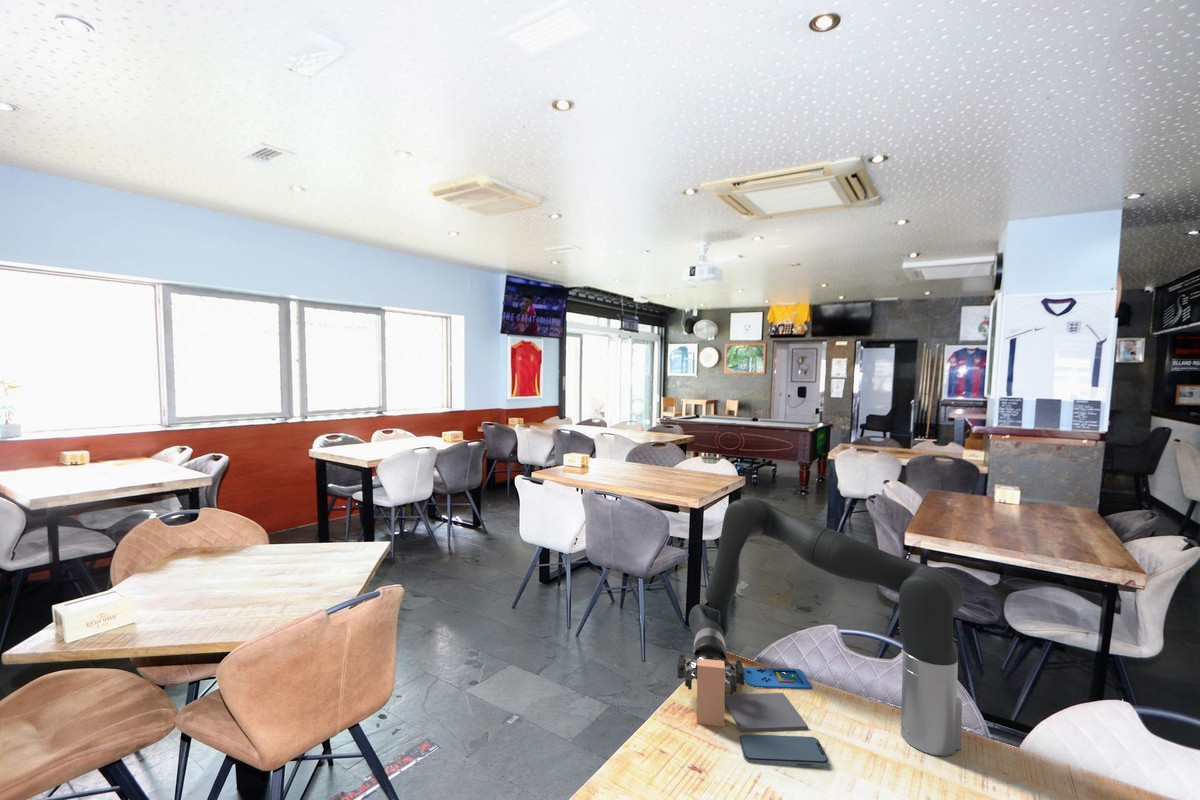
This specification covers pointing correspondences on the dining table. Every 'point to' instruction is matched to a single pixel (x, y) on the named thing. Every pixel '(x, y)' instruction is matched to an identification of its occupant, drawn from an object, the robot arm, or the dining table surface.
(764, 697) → the rubber mat
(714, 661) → the tan rectangular block
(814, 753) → the smartphone
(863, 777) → the dining table surface
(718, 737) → the dining table surface
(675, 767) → the dining table surface
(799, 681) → the handheld gaming device
